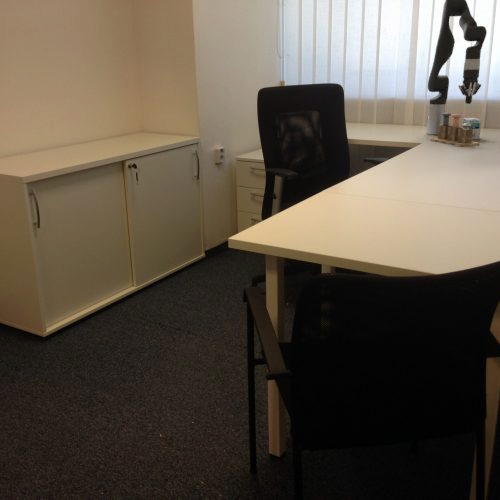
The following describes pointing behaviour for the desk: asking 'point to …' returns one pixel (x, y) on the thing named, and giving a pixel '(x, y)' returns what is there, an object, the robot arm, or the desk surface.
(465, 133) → the socket board
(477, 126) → the light bulb box
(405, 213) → the desk surface
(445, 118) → the peg
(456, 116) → the plug terracotta
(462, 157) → the desk surface
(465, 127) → the plug grey
